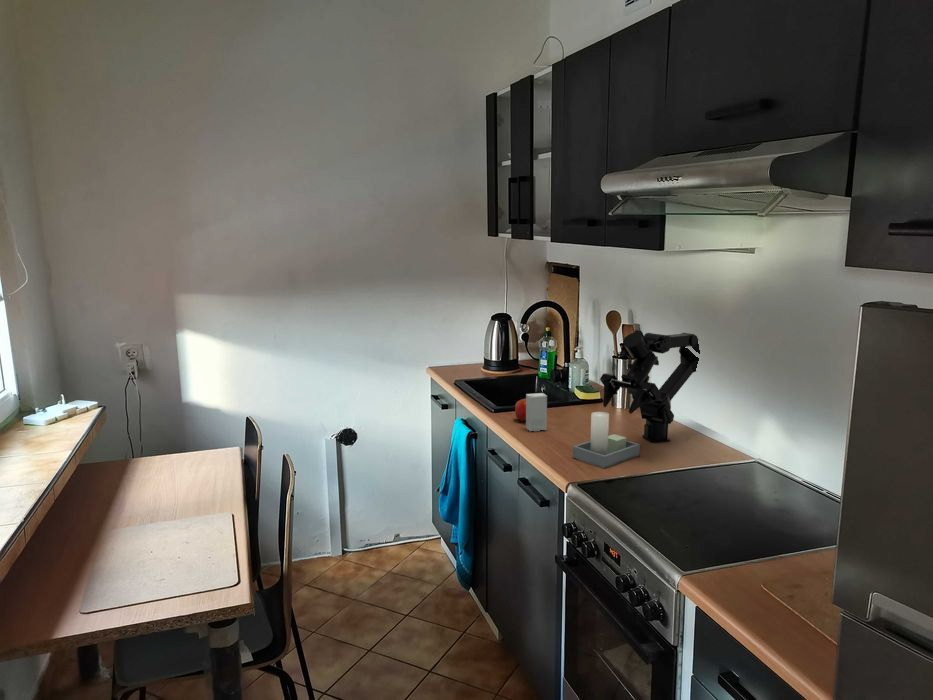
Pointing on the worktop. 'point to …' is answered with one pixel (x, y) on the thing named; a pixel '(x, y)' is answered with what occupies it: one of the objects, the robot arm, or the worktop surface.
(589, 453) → the tote
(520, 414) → the apple
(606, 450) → the white cylinder
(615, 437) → the green cube
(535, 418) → the skincare box
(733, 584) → the worktop surface
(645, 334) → the robot arm
